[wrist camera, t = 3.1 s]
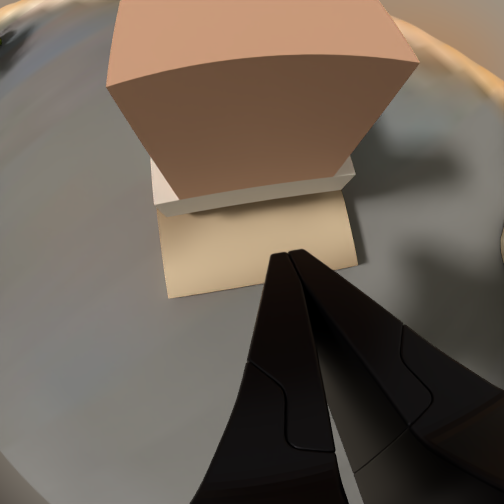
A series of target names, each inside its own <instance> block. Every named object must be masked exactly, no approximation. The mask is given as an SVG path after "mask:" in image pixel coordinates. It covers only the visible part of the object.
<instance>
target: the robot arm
mask: <svg viewBox="0 0 504 504" xmlns="http://www.w3.org/2000/svg"><path fill="white" fill-rule="evenodd" d="M327 403H328V405H327ZM328 406H329V409H330V411H331V414H332V417H333V419H334V422H335V425H336V427H337V430H338V433H339V436H340V438H341V441H342V444H343V446H344V449H345V452H346V455H347V457H348V460H349V463H350V466H351V468H352V471H353V473H354V477H355V480H356V483H357V485H358V488H359V491H360V494H361V497H362V500H363V502H364V504H504V390H503V389H500V388H498V387H496V386H495V385H493V384H491V383H490V382H488V381H486V380H485V379H483V378H482V377H480V376H479V375H477V374H476V373H474V372H473V371H471V370H469V369H468V368H466V367H465V366H463V365H462V364H460V363H458V362H457V361H455V360H454V359H452V358H451V357H449V356H448V355H446V354H445V353H443V352H442V351H440V350H439V349H437V348H436V347H434V346H433V345H432V344H430V343H429V342H428V341H426V340H425V339H424V338H422V337H421V336H420V335H418V334H417V333H416V332H414V331H413V330H412V329H410V328H409V327H408V326H407V325H403V323H402V322H401V321H400V320H399V319H397V318H396V317H395V316H393V315H392V314H391V313H390V312H388V311H387V310H386V309H384V308H383V307H382V306H380V305H379V304H378V303H376V302H375V301H374V300H372V299H371V298H370V297H369V296H367V295H366V294H365V293H363V292H362V291H361V290H359V289H358V288H357V287H355V286H354V285H353V284H351V283H350V282H348V281H347V280H346V279H344V278H343V277H342V276H340V275H339V274H338V273H336V272H335V271H334V270H332V269H331V268H330V267H328V266H327V265H325V264H324V263H323V262H321V261H320V260H319V259H317V258H316V257H314V256H313V255H312V254H310V253H309V252H308V251H306V250H305V249H297V250H291V251H289V252H288V253H287V252H279V253H274V254H271V255H270V259H269V264H268V268H267V273H266V277H265V282H264V287H263V291H262V296H261V300H260V305H259V309H258V314H257V318H256V322H255V327H254V331H253V336H252V340H251V344H250V349H249V353H248V358H247V363H246V365H245V369H244V374H243V378H242V381H241V385H240V389H239V392H238V396H237V399H236V402H235V405H234V408H233V410H232V413H231V416H230V419H229V421H228V424H227V426H226V429H225V431H224V433H223V436H222V438H221V440H220V443H219V445H218V447H217V450H216V452H215V454H214V457H213V459H212V461H211V464H210V466H209V468H208V470H207V473H206V475H205V477H204V479H203V481H202V483H201V485H200V487H199V489H198V491H197V492H196V494H195V496H194V497H193V499H192V500H191V502H190V504H349V502H348V499H347V496H346V494H345V491H344V488H343V485H342V481H341V477H340V473H339V468H338V463H337V458H336V454H335V445H334V439H333V433H332V427H331V422H330V416H329V410H328Z"/></svg>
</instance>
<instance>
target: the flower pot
mask: <svg viewBox="0 0 504 504" xmlns="http://www.w3.org/2000/svg"><path fill="white" fill-rule="evenodd" d="M501 254H502V259H503V263H504V229H503V232H502V236H501Z"/></svg>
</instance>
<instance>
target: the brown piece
mask: <svg viewBox="0 0 504 504" xmlns="http://www.w3.org/2000/svg"><path fill="white" fill-rule="evenodd" d="M419 63H420V62H419V60H418V59H417V57H416V55H415V54H414V52H413V50H412V49H411V47H410V45H409V44H408V42H407V40H406V39H405V37H404V36H403V34H402V33H401V31H400V30H399V28H398V27H397V25H396V24H395V22H394V21H393V19H392V18H391V17H390V15H389V14H388V12H387V11H386V10H385V8H384V7H383V6H382V4H381V3H380V2H379V0H121V1H120V4H119V9H118V14H117V18H116V23H115V29H114V34H113V40H112V46H111V52H110V59H109V66H108V74H107V83H106V88H107V89H108V91H109V93H110V94H111V96H112V97H113V99H114V101H115V102H116V104H117V105H118V107H119V108H120V110H121V112H122V113H123V115H124V116H125V118H126V119H127V121H128V123H129V124H130V126H131V127H132V129H133V130H134V132H135V134H136V135H137V137H138V138H139V140H140V141H141V143H142V144H143V146H144V147H145V149H146V150H147V152H148V154H149V155H150V157H151V172H152V185H153V197H154V205H155V206H156V207H157V208H158V209H159V210H160V211H161V212H162V213H163V214H164V215H165V216H166V217H170V216H176V215H182V214H187V213H193V212H198V211H204V210H209V209H215V208H221V207H227V206H233V205H239V204H245V203H252V202H258V201H264V200H271V199H278V198H285V197H292V196H299V195H306V194H314V193H321V192H329V191H336V190H341V189H342V188H343V187H344V186H345V185H346V184H347V183H348V182H349V181H350V180H351V179H352V178H353V177H354V176H355V175H356V174H355V170H354V167H353V163H352V160H351V156H350V154H351V153H352V152H353V151H354V149H355V148H356V147H357V145H358V144H359V143H360V141H361V140H362V139H363V138H364V136H365V135H366V134H367V132H368V131H369V130H370V128H371V127H372V126H373V124H374V123H375V122H376V121H377V119H378V118H379V117H380V115H381V114H382V113H383V111H384V110H385V109H386V107H387V106H388V105H389V103H390V102H391V101H392V99H393V98H394V97H395V95H396V94H397V93H398V91H399V90H400V89H401V87H402V86H403V85H404V83H405V82H406V81H407V79H408V78H409V77H410V75H411V74H412V73H413V71H414V70H415V69H416V67H417V66H418V65H419Z"/></svg>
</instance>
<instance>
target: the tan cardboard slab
mask: <svg viewBox="0 0 504 504" xmlns="http://www.w3.org/2000/svg"><path fill="white" fill-rule="evenodd" d="M157 216H158V225H159V234H160V242H161V250H162V258H163V265H164V272H165V279H166V286H167V292H168V298H177V297H184V296H190V295H196V294H203V293H209V292H215V291H221V290H227V289H233V288H239V287H245V286H251V285H257V284H262V283H264V282H265V277H266V273H267V268H268V264H269V259H270V255H271V254H274V253H279V252H287V253H288V252H289V251H291V250H297V249H305V250H306V251H308V252H309V253H310V254H312V255H313V256H314V257H316V258H317V259H319V260H320V261H321V262H323V263H324V264H325V265H327V266H328V267H330V268H331V269H332V270H337V269H342V268H347V267H352V266H356V265H358V262H357V256H356V251H355V246H354V242H353V237H352V232H351V228H350V223H349V219H348V214H347V210H346V206H345V202H344V198H343V194H342V190H336V191H329V192H321V193H314V194H306V195H299V196H292V197H285V198H278V199H271V200H264V201H258V202H252V203H245V204H239V205H233V206H227V207H221V208H215V209H209V210H204V211H198V212H193V213H187V214H182V215H176V216H170V217H166V216H165V215H164V214H163V213H162V212H161V211H160V210H159V209H158V208H157Z"/></svg>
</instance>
